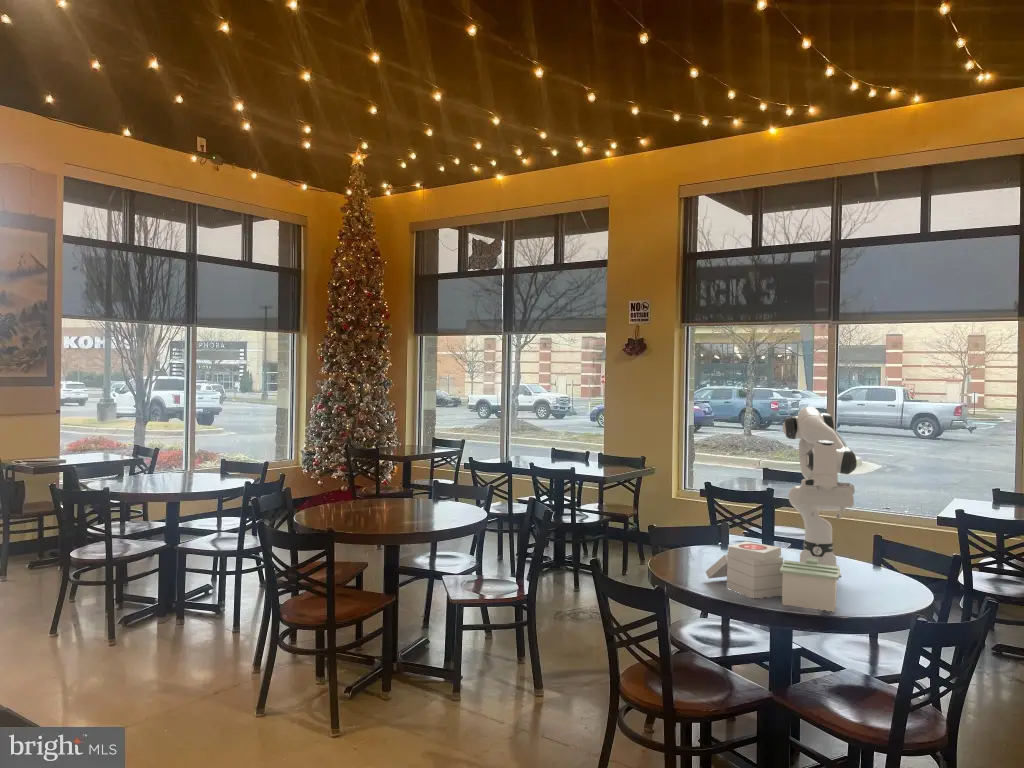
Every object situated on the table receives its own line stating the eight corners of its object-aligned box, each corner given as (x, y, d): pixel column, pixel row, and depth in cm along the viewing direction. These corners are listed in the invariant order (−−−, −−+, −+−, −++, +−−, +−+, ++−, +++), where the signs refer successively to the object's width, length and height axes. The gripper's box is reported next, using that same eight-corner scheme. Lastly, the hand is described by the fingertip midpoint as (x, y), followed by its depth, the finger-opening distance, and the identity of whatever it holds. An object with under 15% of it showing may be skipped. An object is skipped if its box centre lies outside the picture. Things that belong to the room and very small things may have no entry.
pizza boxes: (736, 577, 303) (737, 535, 304) (790, 596, 276) (791, 550, 276) (700, 581, 296) (701, 538, 296) (752, 601, 268) (753, 553, 268)
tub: (786, 593, 280) (787, 563, 280) (836, 600, 271) (837, 569, 272) (782, 604, 265) (782, 572, 265) (834, 612, 257) (835, 579, 257)
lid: (785, 563, 286) (786, 554, 286) (840, 570, 277) (840, 561, 277) (779, 576, 265) (779, 567, 265) (838, 584, 256) (838, 574, 256)
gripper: (853, 482, 277) (853, 518, 277) (797, 479, 285) (797, 514, 284) (855, 483, 272) (855, 520, 271) (798, 480, 279) (797, 516, 278)
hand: (825, 517), depth 277 cm, fingers open, 8 cm apart
